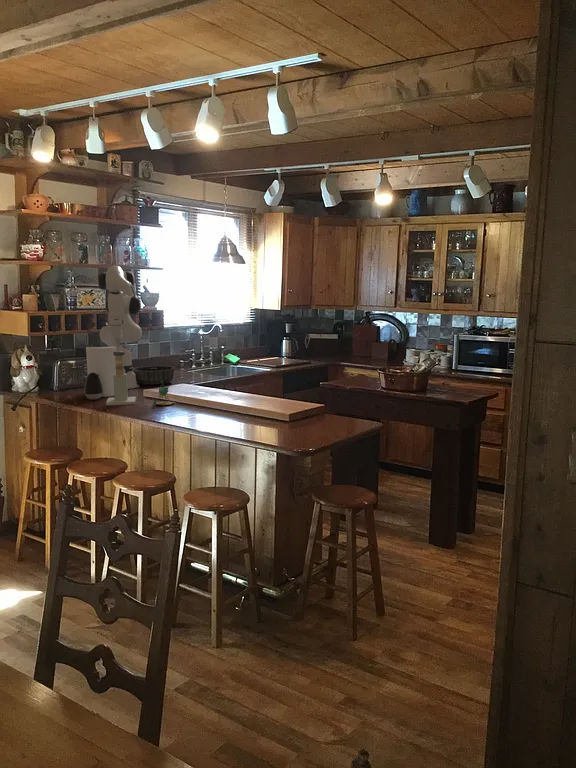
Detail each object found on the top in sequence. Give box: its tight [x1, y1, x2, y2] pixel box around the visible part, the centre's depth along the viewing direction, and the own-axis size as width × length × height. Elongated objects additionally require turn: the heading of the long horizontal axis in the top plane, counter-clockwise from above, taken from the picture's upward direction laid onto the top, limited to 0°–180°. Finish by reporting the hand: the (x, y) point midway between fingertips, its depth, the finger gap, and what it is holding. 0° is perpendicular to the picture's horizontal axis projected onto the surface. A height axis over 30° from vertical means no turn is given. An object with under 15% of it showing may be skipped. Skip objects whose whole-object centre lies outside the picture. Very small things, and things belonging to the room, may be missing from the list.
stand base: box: [105, 373, 137, 406], centre depth 375 cm, size 15×15×16 cm
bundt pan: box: [132, 365, 175, 386], centre depth 438 cm, size 26×26×10 cm
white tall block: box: [85, 346, 116, 398], centre depth 400 cm, size 17×17×28 cm
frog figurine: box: [150, 380, 176, 409], centre depth 365 cm, size 10×18×15 cm, turn 137°
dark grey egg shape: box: [83, 372, 103, 401], centre depth 386 cm, size 10×10×15 cm
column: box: [113, 351, 125, 375], centre depth 373 cm, size 6×6×26 cm
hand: (118, 346), depth 371 cm, fingers open, 8 cm apart
